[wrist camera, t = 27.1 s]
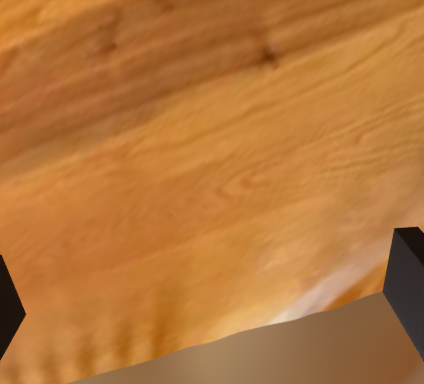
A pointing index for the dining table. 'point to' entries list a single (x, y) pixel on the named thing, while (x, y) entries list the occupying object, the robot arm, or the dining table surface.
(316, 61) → the dining table surface
